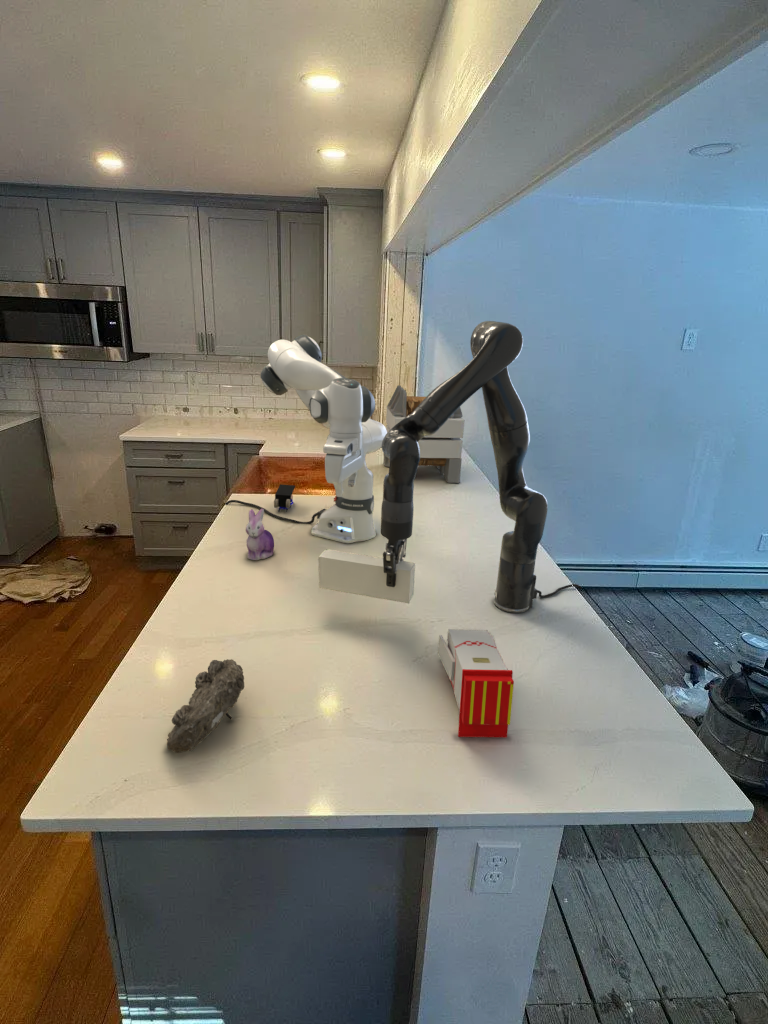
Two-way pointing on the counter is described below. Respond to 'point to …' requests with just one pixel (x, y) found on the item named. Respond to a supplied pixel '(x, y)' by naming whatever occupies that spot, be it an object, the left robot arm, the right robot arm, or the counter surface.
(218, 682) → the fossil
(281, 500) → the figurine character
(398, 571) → the bar
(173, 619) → the counter surface
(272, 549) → the figurine
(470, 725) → the toy
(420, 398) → the slatted wooden crate
